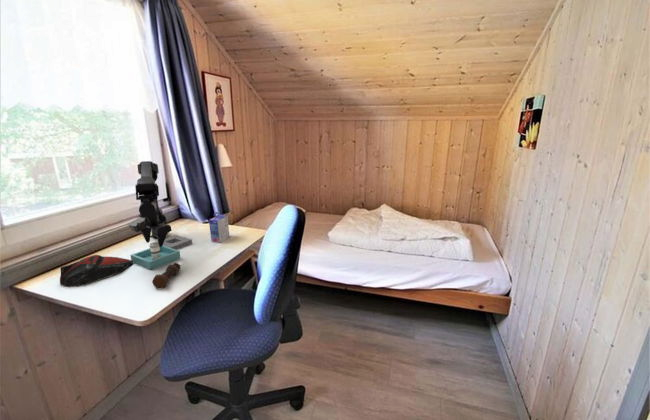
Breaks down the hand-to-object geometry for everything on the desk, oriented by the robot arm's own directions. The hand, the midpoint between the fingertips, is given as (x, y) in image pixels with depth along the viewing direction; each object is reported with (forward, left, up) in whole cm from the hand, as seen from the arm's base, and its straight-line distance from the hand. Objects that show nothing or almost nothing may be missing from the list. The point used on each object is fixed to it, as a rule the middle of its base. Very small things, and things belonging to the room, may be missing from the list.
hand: (154, 244), depth 138 cm
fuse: (0, 0, -7) cm, 7 cm away
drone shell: (-8, -20, -8) cm, 23 cm away
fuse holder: (-9, +15, -8) cm, 19 cm away
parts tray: (0, 0, -8) cm, 8 cm away
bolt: (+20, -7, -8) cm, 22 cm away
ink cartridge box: (+4, +33, -8) cm, 34 cm away
